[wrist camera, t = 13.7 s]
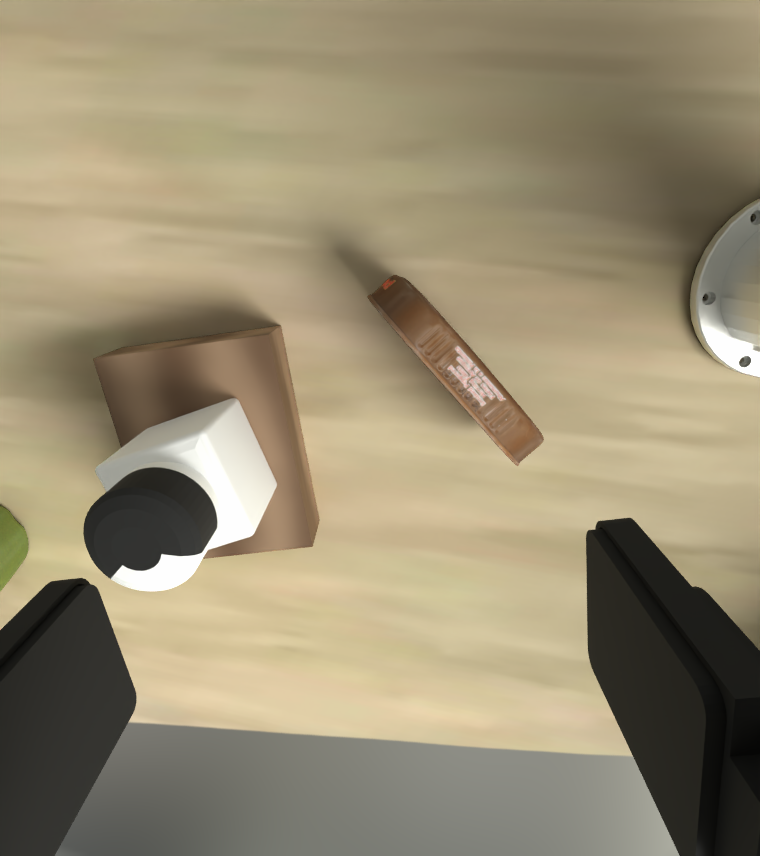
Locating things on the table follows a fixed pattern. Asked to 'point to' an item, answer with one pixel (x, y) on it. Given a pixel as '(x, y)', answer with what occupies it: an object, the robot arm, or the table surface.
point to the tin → (457, 367)
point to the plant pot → (11, 546)
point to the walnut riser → (213, 383)
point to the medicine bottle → (178, 497)
